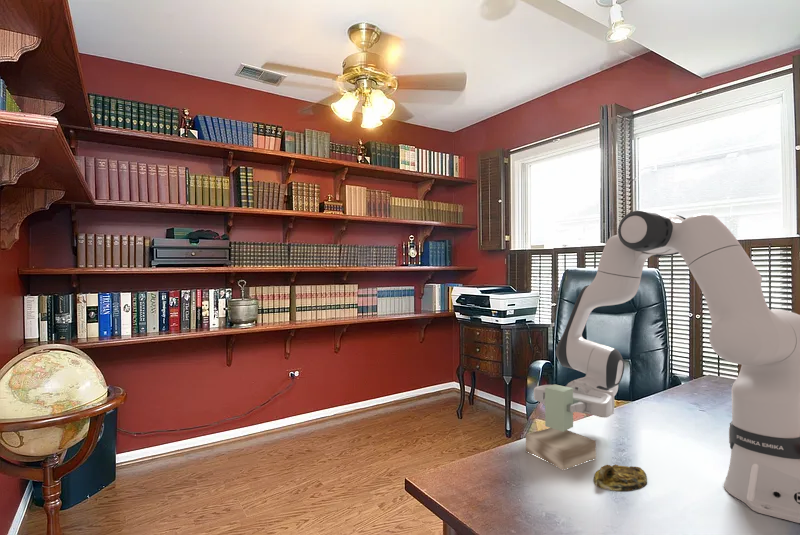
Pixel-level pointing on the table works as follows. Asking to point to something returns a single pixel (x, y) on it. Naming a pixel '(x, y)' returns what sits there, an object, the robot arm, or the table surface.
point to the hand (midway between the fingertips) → (557, 405)
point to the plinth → (561, 447)
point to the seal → (620, 478)
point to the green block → (558, 407)
